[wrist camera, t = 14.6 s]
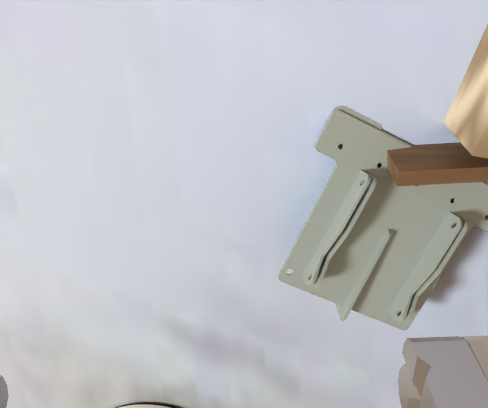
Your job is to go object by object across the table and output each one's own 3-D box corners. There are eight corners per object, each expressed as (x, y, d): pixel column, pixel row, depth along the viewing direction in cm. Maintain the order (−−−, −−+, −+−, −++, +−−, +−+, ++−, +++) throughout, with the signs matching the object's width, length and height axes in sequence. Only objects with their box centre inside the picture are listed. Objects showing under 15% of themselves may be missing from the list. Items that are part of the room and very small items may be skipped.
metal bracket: (433, 363, 33) (249, 291, 30) (400, 320, 39) (241, 256, 36) (548, 190, 30) (353, 90, 27) (493, 170, 35) (327, 85, 32)
